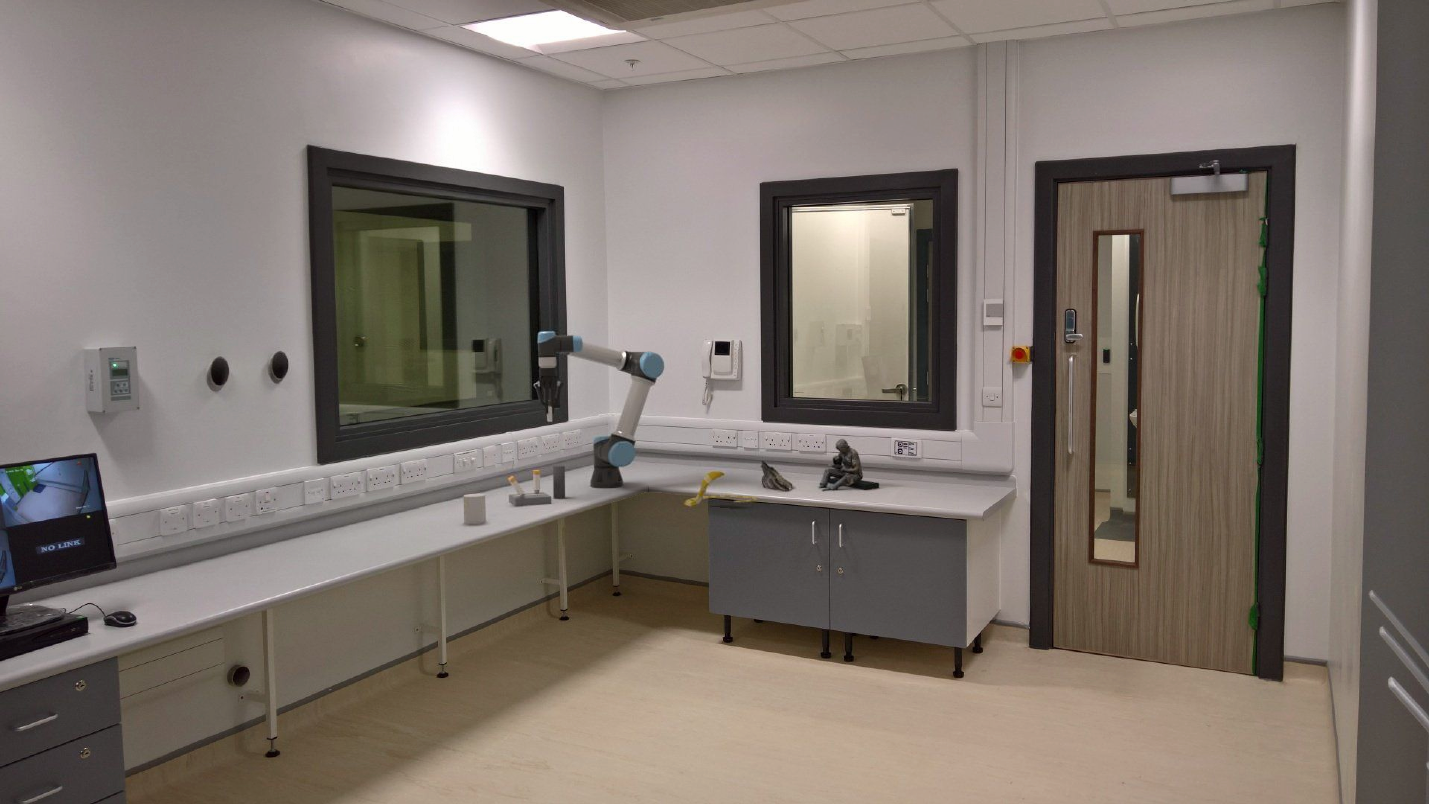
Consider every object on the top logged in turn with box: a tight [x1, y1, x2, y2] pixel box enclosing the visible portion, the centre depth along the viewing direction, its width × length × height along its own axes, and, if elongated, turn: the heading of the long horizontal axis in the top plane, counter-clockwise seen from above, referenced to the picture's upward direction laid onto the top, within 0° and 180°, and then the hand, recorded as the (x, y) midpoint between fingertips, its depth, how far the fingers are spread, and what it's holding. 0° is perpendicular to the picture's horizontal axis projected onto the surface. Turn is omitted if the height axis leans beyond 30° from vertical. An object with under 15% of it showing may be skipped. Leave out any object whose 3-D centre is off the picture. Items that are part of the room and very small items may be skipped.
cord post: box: [552, 465, 566, 500], centre depth 434 cm, size 5×5×14 cm
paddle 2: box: [532, 469, 541, 493], centre depth 429 cm, size 2×4×10 cm, turn 23°
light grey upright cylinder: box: [463, 493, 487, 525], centre depth 387 cm, size 8×8×12 cm
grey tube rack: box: [508, 491, 552, 507], centre depth 424 cm, size 15×13×3 cm
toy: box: [683, 470, 758, 507], centre depth 417 cm, size 29×28×15 cm
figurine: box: [817, 438, 880, 492], centre depth 446 cm, size 25×24×24 cm
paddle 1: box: [507, 475, 526, 498], centre depth 418 cm, size 2×4×10 cm
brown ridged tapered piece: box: [760, 460, 793, 492], centre depth 454 cm, size 22×9×28 cm
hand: (549, 421), depth 436 cm, fingers closed
